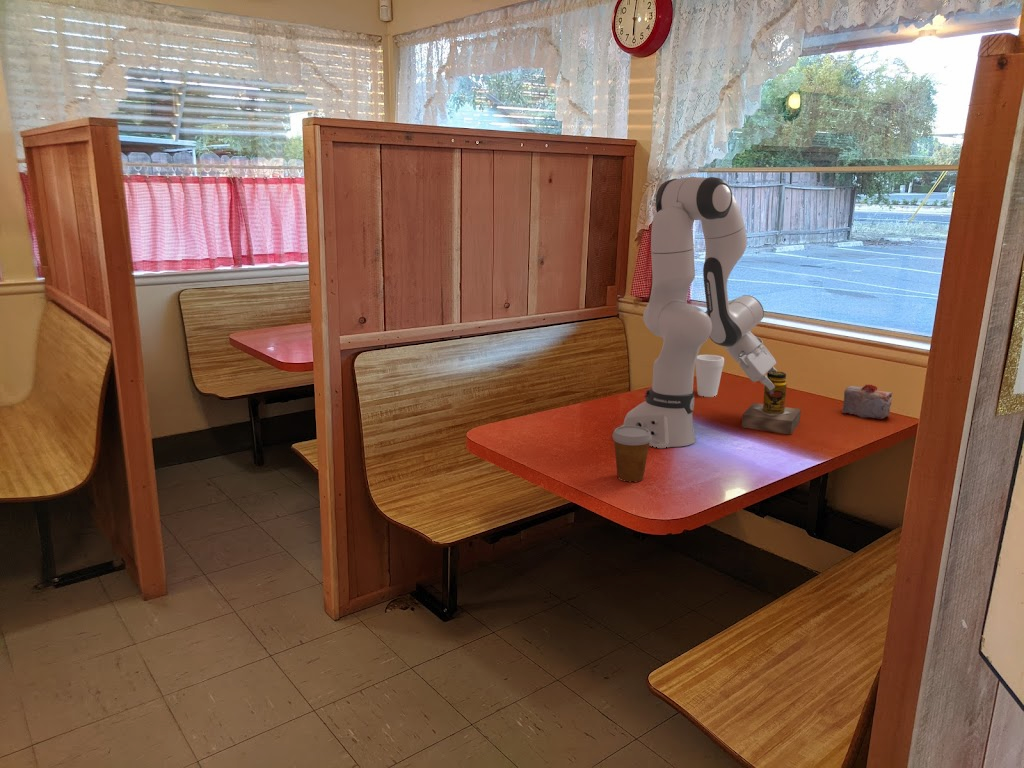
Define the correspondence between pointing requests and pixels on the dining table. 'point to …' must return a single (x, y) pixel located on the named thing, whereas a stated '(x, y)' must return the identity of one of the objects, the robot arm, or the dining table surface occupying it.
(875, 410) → the food item
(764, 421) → the base
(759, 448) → the dining table surface
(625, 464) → the disposable coffee cup
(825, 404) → the dining table surface
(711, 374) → the foam cup
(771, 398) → the condiment
